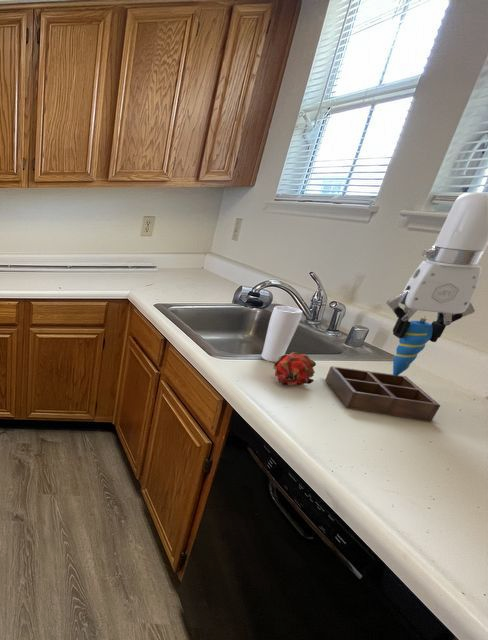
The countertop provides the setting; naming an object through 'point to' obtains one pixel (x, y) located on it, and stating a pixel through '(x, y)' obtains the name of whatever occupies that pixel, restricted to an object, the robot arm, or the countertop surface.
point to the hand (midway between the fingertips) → (414, 337)
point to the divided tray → (381, 393)
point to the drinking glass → (280, 331)
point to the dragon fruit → (294, 369)
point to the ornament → (411, 344)
